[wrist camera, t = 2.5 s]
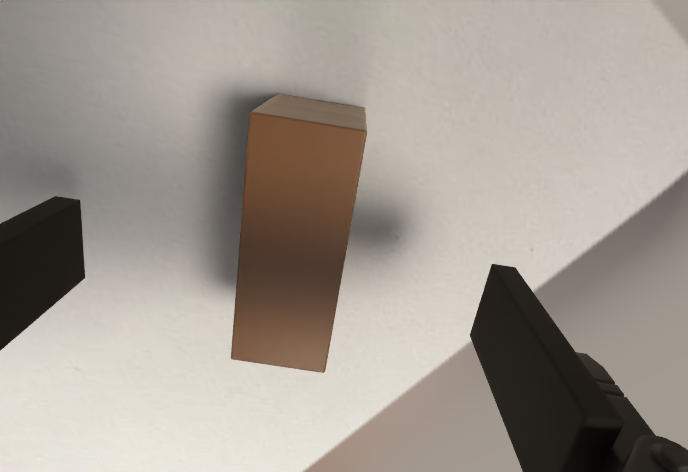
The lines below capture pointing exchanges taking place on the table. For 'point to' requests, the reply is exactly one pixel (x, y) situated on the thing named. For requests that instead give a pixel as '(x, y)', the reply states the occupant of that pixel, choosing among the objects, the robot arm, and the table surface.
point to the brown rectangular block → (295, 228)
